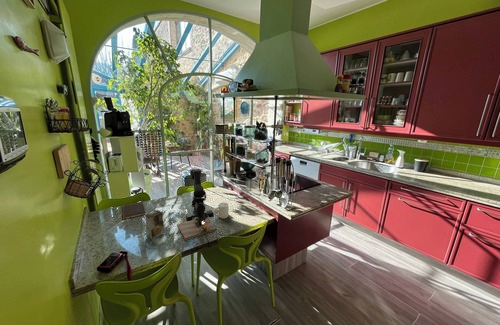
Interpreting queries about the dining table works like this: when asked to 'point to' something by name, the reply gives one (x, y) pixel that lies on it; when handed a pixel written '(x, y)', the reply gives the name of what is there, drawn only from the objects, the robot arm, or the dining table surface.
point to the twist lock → (202, 224)
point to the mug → (222, 210)
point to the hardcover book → (133, 210)
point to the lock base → (194, 229)
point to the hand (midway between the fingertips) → (200, 226)
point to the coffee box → (154, 224)
